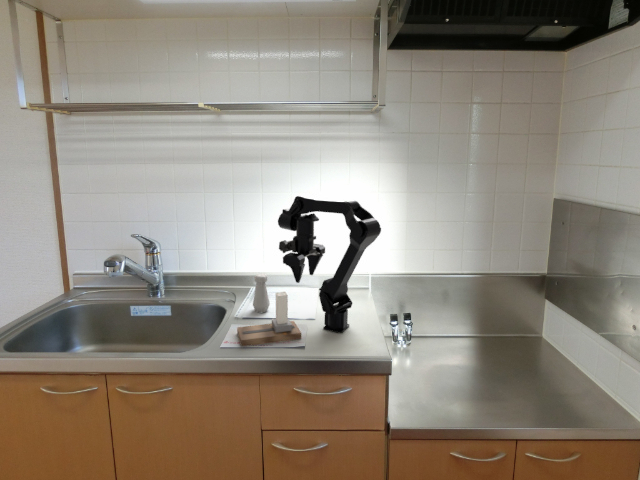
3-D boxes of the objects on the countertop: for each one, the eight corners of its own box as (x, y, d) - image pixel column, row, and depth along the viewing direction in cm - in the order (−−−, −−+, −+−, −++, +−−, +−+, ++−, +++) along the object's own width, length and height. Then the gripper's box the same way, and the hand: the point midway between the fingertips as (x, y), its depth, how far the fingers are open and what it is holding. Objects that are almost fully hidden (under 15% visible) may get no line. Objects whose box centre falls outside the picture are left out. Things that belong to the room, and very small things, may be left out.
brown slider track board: (293, 326, 142) (293, 320, 141) (301, 338, 133) (301, 332, 133) (237, 333, 136) (237, 326, 136) (241, 346, 128) (241, 339, 128)
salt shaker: (268, 313, 151) (268, 277, 148) (251, 313, 151) (251, 277, 148) (270, 307, 157) (270, 272, 154) (254, 307, 157) (253, 272, 154)
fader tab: (287, 322, 139) (287, 289, 136) (292, 330, 134) (292, 296, 131) (271, 324, 138) (271, 291, 135) (275, 332, 132) (275, 298, 129)
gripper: (298, 225, 156) (297, 267, 160) (268, 235, 140) (269, 282, 144) (326, 229, 151) (325, 272, 155) (298, 240, 135) (298, 288, 139)
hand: (304, 278), depth 148 cm, fingers open, 9 cm apart
